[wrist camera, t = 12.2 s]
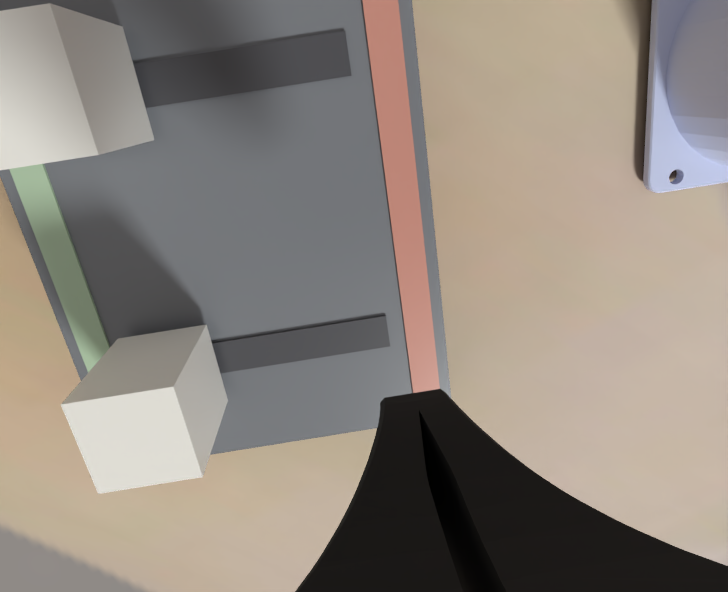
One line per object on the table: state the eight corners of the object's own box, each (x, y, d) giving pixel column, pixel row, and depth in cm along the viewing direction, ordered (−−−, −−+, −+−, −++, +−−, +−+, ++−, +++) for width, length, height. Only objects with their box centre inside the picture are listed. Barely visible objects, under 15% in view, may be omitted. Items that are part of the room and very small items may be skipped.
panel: (343, -550, 12) (346, -668, 11) (442, 388, 22) (453, 417, 20) (-200, -467, 12) (-299, -572, 10) (134, 437, 22) (115, 471, 20)
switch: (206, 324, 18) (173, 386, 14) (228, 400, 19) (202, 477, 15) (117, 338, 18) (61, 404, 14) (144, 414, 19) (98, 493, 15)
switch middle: (122, 26, 14) (49, 3, 11) (154, 139, 15) (98, 154, 12) (13, 43, 14) (-99, 26, 11) (52, 155, 15) (-36, 176, 12)
